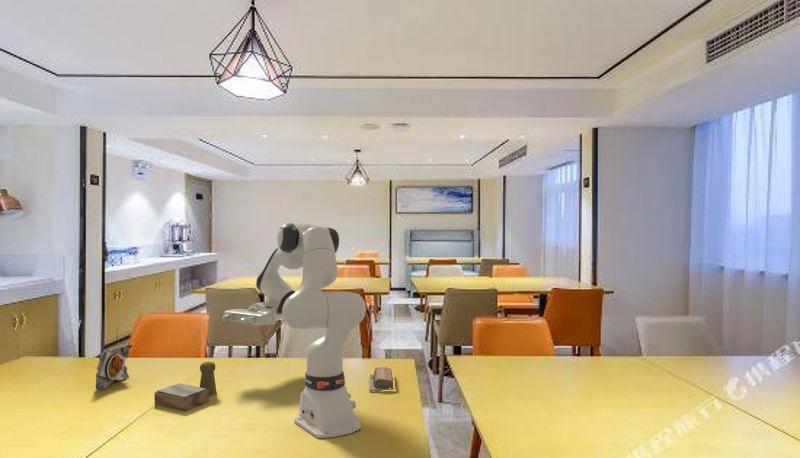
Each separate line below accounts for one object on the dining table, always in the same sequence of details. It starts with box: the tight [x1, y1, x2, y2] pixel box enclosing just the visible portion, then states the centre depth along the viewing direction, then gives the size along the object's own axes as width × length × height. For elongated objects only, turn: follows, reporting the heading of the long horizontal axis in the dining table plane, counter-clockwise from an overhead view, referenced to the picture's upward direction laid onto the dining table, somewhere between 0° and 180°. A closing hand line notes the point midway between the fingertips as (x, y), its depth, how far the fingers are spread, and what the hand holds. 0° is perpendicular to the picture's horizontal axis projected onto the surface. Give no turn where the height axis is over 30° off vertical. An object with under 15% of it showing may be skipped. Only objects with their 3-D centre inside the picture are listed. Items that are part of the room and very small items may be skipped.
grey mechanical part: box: [95, 344, 133, 391], centre depth 188 cm, size 15×4×13 cm, turn 175°
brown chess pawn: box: [199, 361, 217, 397], centre depth 178 cm, size 6×6×11 cm
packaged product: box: [368, 366, 395, 392], centre depth 189 cm, size 18×5×10 cm
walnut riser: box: [154, 382, 210, 412], centre depth 168 cm, size 10×14×4 cm
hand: (233, 320), depth 189 cm, fingers open, 8 cm apart
